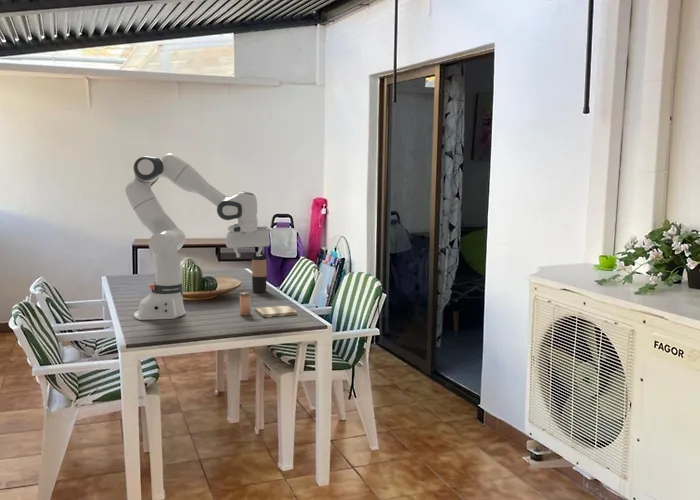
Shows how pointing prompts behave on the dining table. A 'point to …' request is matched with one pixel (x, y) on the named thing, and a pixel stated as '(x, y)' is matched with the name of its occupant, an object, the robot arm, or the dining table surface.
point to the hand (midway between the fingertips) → (248, 256)
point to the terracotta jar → (245, 303)
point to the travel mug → (259, 273)
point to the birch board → (275, 311)
